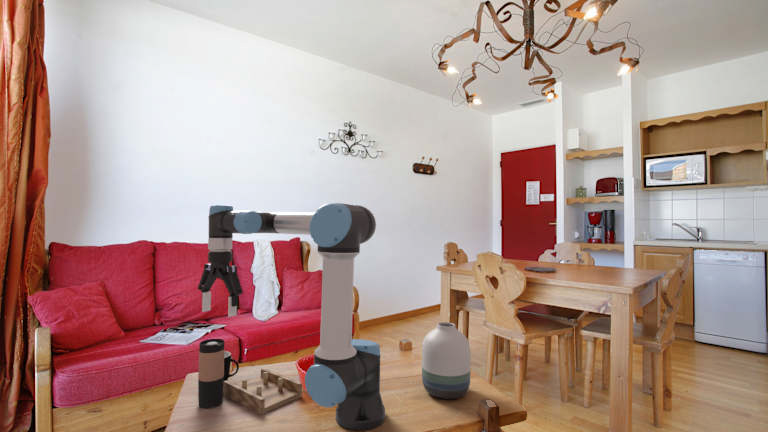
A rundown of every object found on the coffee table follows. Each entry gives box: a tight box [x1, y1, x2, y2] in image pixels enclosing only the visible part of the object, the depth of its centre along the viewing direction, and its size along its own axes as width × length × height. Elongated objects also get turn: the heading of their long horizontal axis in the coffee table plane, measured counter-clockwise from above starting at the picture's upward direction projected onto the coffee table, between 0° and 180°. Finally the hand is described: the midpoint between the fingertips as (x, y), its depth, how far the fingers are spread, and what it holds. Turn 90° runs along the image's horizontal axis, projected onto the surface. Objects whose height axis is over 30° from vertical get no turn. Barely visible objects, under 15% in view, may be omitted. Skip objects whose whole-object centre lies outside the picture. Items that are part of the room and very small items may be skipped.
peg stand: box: [223, 367, 303, 416], centre depth 129 cm, size 22×16×6 cm
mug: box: [224, 350, 240, 381], centre depth 140 cm, size 12×9×10 cm
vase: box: [421, 321, 471, 400], centre depth 134 cm, size 17×17×24 cm
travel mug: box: [197, 338, 225, 410], centre depth 123 cm, size 8×8×20 cm
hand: (219, 313), depth 127 cm, fingers open, 13 cm apart
